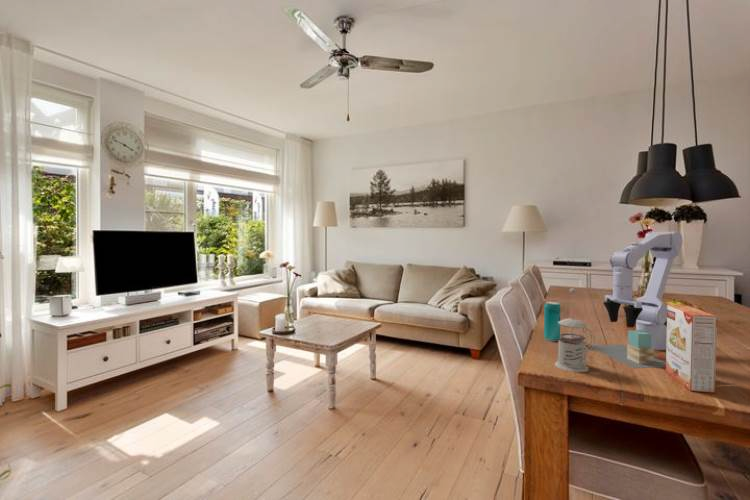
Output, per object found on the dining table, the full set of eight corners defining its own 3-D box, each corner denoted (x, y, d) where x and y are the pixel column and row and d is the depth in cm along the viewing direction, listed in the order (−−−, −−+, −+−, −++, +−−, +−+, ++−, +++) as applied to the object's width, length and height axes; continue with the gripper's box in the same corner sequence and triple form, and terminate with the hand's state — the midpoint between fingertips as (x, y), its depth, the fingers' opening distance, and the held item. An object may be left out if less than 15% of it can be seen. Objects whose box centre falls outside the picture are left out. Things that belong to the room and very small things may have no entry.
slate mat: (621, 345, 138) (621, 344, 138) (676, 367, 115) (676, 366, 115) (585, 346, 137) (585, 345, 137) (634, 369, 114) (634, 368, 114)
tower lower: (640, 357, 123) (641, 350, 123) (653, 363, 118) (653, 355, 118) (626, 358, 123) (627, 351, 123) (638, 363, 118) (639, 356, 118)
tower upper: (641, 350, 123) (641, 343, 123) (653, 355, 118) (653, 347, 118) (627, 351, 123) (627, 343, 123) (639, 356, 118) (639, 348, 118)
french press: (549, 360, 122) (550, 286, 121) (584, 361, 122) (586, 286, 120) (563, 372, 112) (564, 290, 111) (602, 372, 112) (603, 290, 111)
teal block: (640, 343, 123) (640, 330, 123) (651, 347, 119) (651, 333, 118) (627, 343, 123) (627, 330, 123) (638, 347, 118) (638, 334, 118)
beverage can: (561, 342, 142) (562, 304, 141) (545, 341, 143) (546, 303, 143) (557, 338, 148) (558, 301, 147) (542, 337, 149) (542, 301, 148)
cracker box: (663, 372, 111) (666, 304, 110) (687, 374, 110) (690, 305, 109) (688, 391, 98) (691, 313, 97) (716, 394, 96) (719, 315, 95)
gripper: (597, 283, 135) (596, 319, 135) (628, 289, 120) (627, 330, 121) (615, 282, 136) (614, 319, 136) (648, 288, 121) (647, 329, 122)
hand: (621, 324), depth 129 cm, fingers open, 7 cm apart
